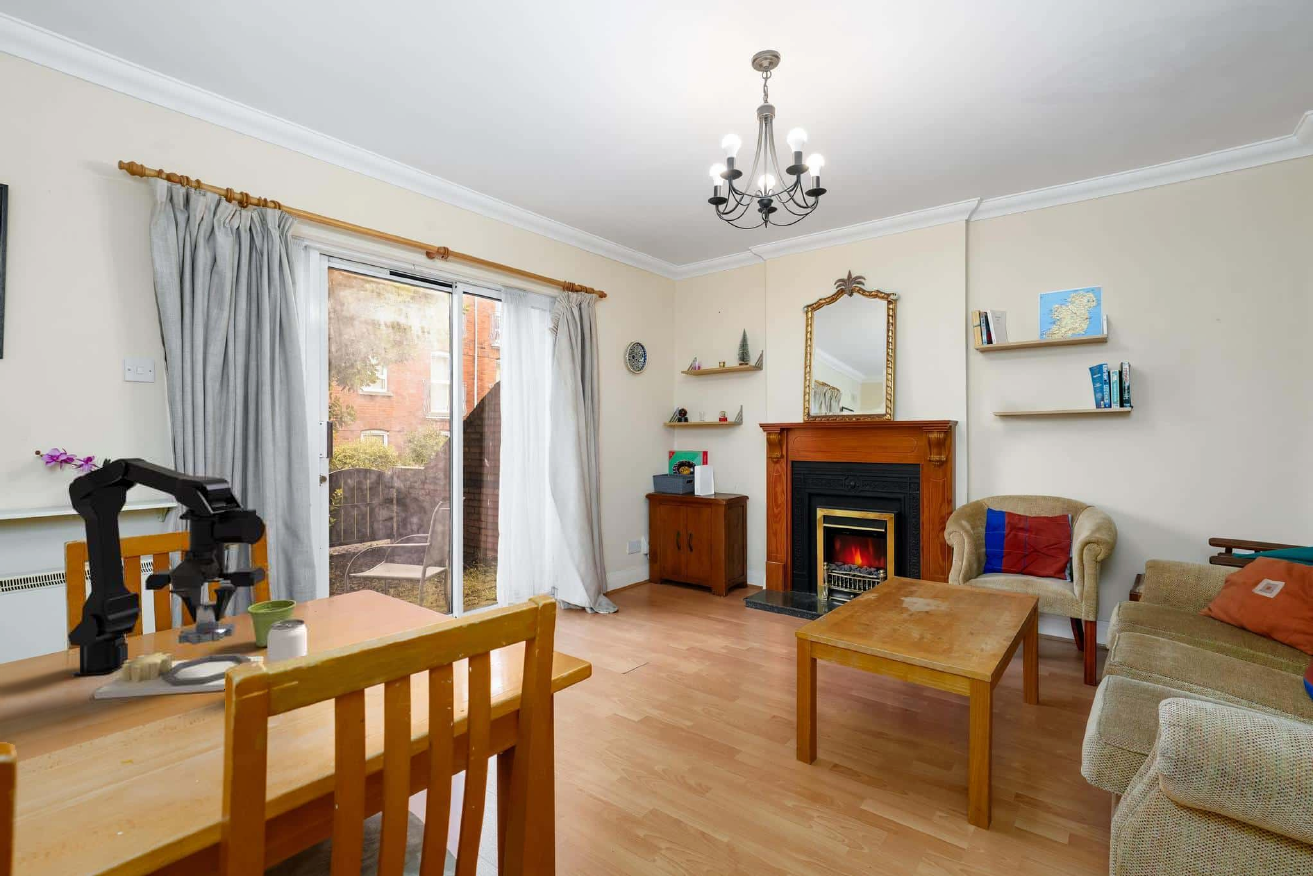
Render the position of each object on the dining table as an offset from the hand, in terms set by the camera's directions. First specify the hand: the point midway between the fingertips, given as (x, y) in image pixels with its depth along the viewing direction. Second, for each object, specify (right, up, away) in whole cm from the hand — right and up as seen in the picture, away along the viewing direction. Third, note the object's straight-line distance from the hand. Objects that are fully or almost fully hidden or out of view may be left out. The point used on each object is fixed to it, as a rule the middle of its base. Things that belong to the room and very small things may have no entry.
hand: (207, 621), depth 120 cm
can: (+18, -12, -4) cm, 22 cm away
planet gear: (0, -3, 0) cm, 3 cm away
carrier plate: (-4, -11, -1) cm, 12 cm away
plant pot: (0, -11, +20) cm, 23 cm away
